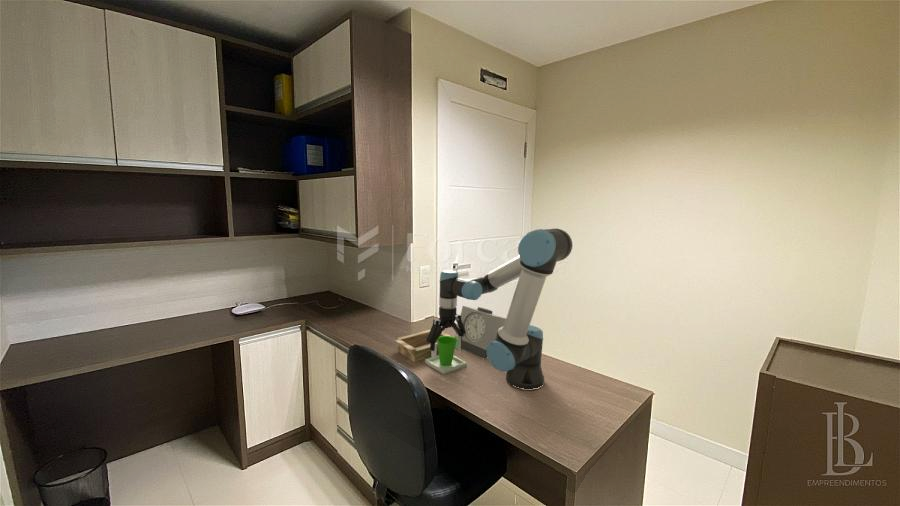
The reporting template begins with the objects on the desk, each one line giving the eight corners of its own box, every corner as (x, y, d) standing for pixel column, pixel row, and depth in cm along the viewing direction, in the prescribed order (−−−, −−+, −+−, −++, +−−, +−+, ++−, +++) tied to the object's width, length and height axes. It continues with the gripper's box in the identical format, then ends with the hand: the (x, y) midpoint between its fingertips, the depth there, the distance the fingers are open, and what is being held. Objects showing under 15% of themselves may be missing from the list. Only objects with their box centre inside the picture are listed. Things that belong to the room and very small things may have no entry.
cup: (454, 369, 155) (455, 344, 153) (433, 366, 156) (434, 342, 155) (457, 360, 163) (458, 337, 162) (438, 357, 165) (438, 334, 163)
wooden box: (456, 350, 175) (457, 338, 174) (413, 364, 159) (413, 351, 158) (434, 339, 188) (435, 328, 187) (392, 351, 172) (392, 339, 171)
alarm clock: (453, 345, 182) (454, 305, 179) (474, 337, 193) (476, 300, 190) (484, 359, 167) (486, 316, 164) (505, 350, 178) (507, 310, 175)
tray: (466, 366, 159) (466, 362, 159) (443, 374, 151) (443, 370, 151) (447, 355, 169) (447, 352, 169) (425, 363, 161) (425, 359, 161)
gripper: (463, 299, 167) (461, 344, 170) (418, 309, 151) (417, 357, 154) (475, 303, 161) (472, 349, 164) (429, 313, 145) (428, 364, 148)
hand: (446, 353), depth 159 cm, fingers open, 13 cm apart
